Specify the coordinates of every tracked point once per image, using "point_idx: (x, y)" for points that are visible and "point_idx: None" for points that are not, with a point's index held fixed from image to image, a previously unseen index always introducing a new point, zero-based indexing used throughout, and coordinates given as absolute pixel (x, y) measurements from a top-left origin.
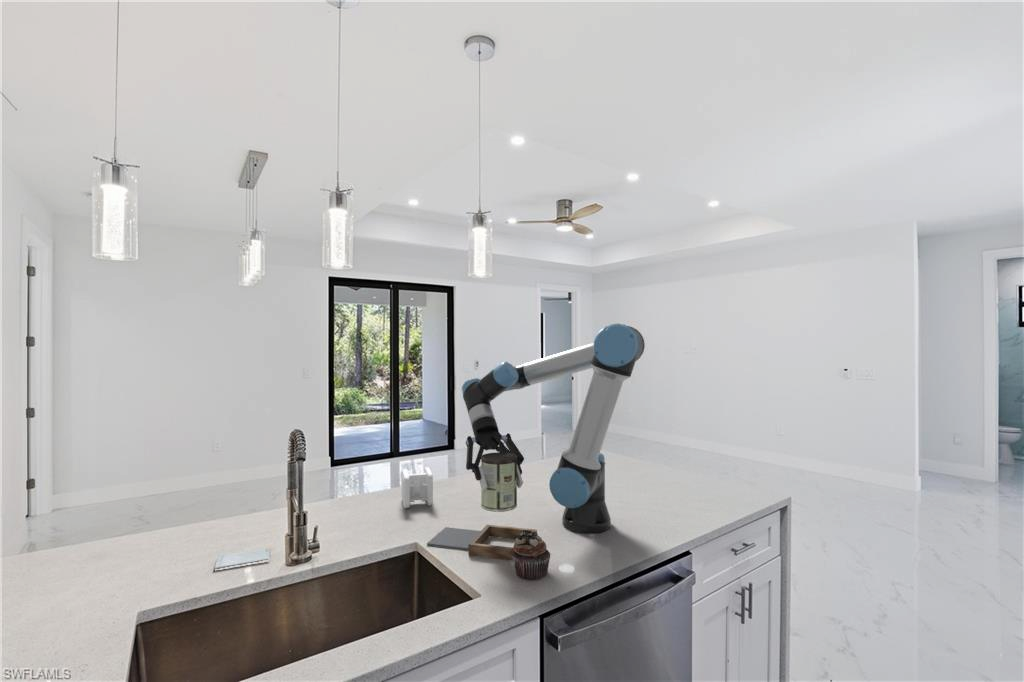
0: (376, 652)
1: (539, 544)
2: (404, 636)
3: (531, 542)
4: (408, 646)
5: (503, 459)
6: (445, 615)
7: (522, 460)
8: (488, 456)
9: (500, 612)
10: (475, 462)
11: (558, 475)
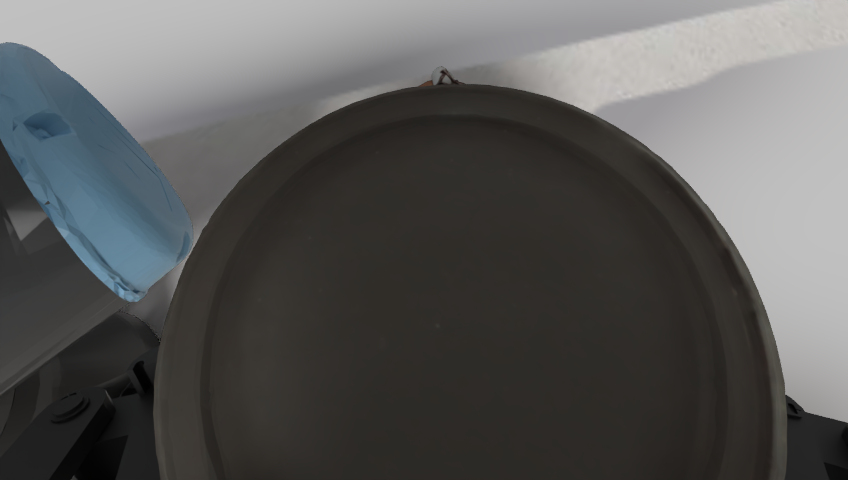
0: (805, 25)
1: (427, 82)
2: (757, 48)
3: (452, 76)
4: (748, 23)
5: (460, 146)
6: (674, 80)
7: (102, 393)
8: (624, 433)
9: (564, 56)
10: (811, 439)
11: (83, 137)
